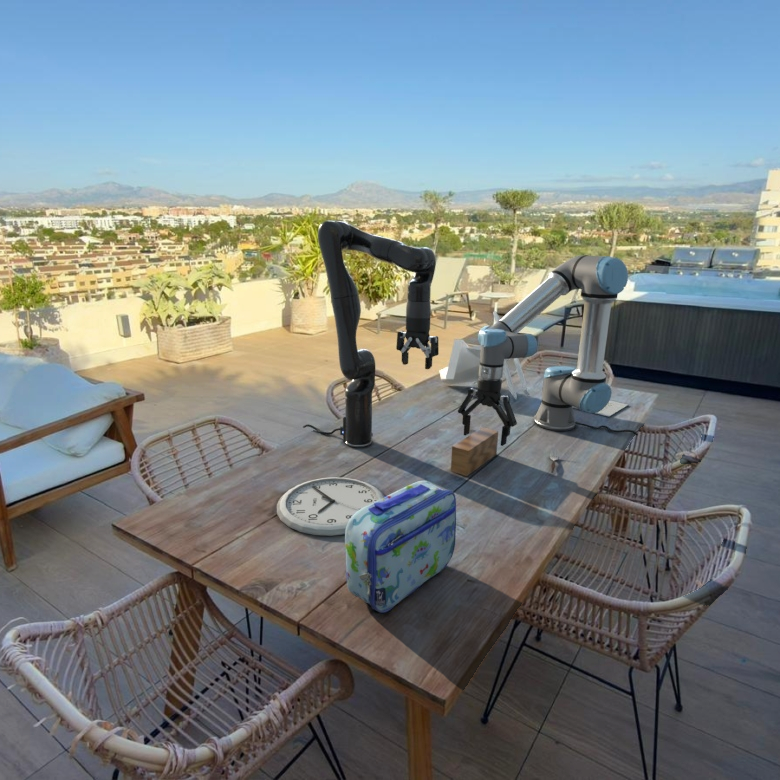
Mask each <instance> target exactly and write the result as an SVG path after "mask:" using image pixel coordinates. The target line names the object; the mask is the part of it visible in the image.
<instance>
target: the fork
mask: <svg viewBox="0 0 780 780" xmlns="http://www.w3.org/2000/svg"><path fill="white" fill-rule="evenodd" d="M559 454H560V449H556V451H555V452H553V451H551V452H550V456H549V457H550V460H552V462H551V466H550V468H551V469H550V470H551V474H553V473H554V469H555V467H556V463H555V461H558V460H559Z"/></svg>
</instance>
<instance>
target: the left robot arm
mask: <svg viewBox="0 0 780 780" xmlns="http://www.w3.org/2000/svg"><path fill="white" fill-rule="evenodd" d="M317 241H318V246H319V249H320V254H321V258H322V261H323V264H324V268H325V272H326V277H327V278H326V279H327V283H328V288H329V295H330V301H331V307H332V313H333V316H334V323H335V329H336V336H337V349H338V360H339V361H338V362H339V367H340V371H341V374H342V375H343V376H344V378H346V379H347V380H349V381H350V382H349V384H348V385H347V386H346V387H345V390H344V397H345V398H344V402H345V403H344V404H345V405H344V406H345V407H344V408H345V412H344V414H345V415H344V416H342V425H341V426H340V427H337V428H334V429H332V430H331V431H322V430H320V429H319V428H318V427H315V426H314V425H312V424H309V423H308V424H305V425H303V426H302V428H303V429H305V428H311V429H313V430H315V431H317V432H318V433H319V434H321V435H327V436H328V435H333V434H334V433H336V432H338V431H339V434H340V436H342V443H345V445H346V446H348V447H351V448H365V447H369V446H370V445H372V444H373V437H374V436H373V434H374V433H373V429H372V428H373V391H374V389H375V384H376V359H375V357H374V355H373V353H372V352H371V351H370V350H368V349H367V348H366V349H365V348H360V349H358V344H357V330H358V327H359V324H360V319H361V312H362V306H361V299H360V292H359V290H358V286H357V284H356V283H355V281H354V280H353V277H352V275H350V273H349V271H348V269H347V268H346V264H345V261H344V256H343V251H356V252H361V253H363V254H366V255H368V256H369V257H371V258H373V259H375V260H378V261H380V262H383V263H386V264H389V265H395V266H396V267H398V268H400V269H402V270H404V271H407V272H410V273H413V277H412V279H411V280H410V281H409V282H408V284H407V293H406V294H407V295H406V296H407V297H406V307H405V330H406V331H405V330H399V331H397V332H396V333H397V335H396V350H397V351H400V353H401V363H402V365H404V366H406V365H408V364H409V351H410V349H411V348H413V349H414V348H415V349H419V350H421V352H422V353H423V354H424V356H425V360H424V362H425V363H424V369H425V370H431V368H432V367H433V358H434V357H436V356H439V349H440V348H439V337H438V336H437V335H436V336H435V335H434V336H431V335H430V331H431V316H432V315H431V314H432V307H431V306H432V305H431V295H432V293H431V292H432V291H431V289H432V288H431V286H432V283H433V280H434V275H435V271H436V264H437V259H436V255H435V252H434V251H433V250H432V249H431V248H430V247H424V246H423V247H413V246H410V245H409V246H408V245H406V244H405V243H403V242H402V241H398V240H395V239H393V238H388V237H384V236H379V235H376V234H371V233H368V232H366V231H363V230H361V229H359V228H357V227H356V226H353V225H351V224H349V223H347V222H345V221H341V220H325V221H323V222H321V223H320V225H319V227H318V229H317ZM405 340H406V342H405Z"/></svg>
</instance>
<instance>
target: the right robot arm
mask: <svg viewBox="0 0 780 780" xmlns="http://www.w3.org/2000/svg"><path fill="white" fill-rule="evenodd" d="M628 280H629V272H628V268H627V265H626V264H625V263H624V261H623V260H622V259H620V258H618V257H612V256H608V255H605V256H604V255H588V254H580V255H576V256H574V257H572V258H570V259H567V260H566V261H564V262H563V263H561V264H559V265H558V266H557V267H555V268H554V269H553V270H551V272H549V273H548V275H547V277H546V280H544V281H542V283H541V284H540V285H538V287H536V288H535V289H534V290H533V291H532V292H530V293H529V294H528V295H527V296H526V297H525V298H523V299H522V300H521V301H520V302H519V303H517V305H515V306H514V307H513V308H512V309H511V310H509V311H508V312H507V313H506V314H504V316H503V317H502V318H500V320H499V321H498V322H497V323H496V322H495V324H493V325H485V326H483V327H481V329H480V330H479V331H478V334H477V340H478V343H479V345H481V352H480V365H479V376H480V377H479V378H478V382H477V389H476V388H475V387H471V388H469V389H468V391H467V395H466V396H465V398H464V400H463V401H462V403H461V405H460V406H459V408H458V409H457V413H458V414H461V416H462V425H463V436H466V437H467V435H469V434H470V430H471V420H472V419H471V418H472V416H471V414H470V413H471V412H473V411H474V410H475V409H476V408H477V407H478V406H479V405H480V404H481V405H482V406H486V407H489V408H491V407H492V408H493V410H494V411H495V413H496V414H497V416H498V417H499V419H500V421H501V422H502V424H503V426H502V427H501V435H500V437H501V438H500V446H501V447H504V446H505V445H507V442H508V441H507V440H508V436H510V435H511V429H512V428H513V427H515V426H516V425H518V422H517V419H516V416H515V412H514V410H513V408H512V403H511V396H510V395H502V394H501V393H502V392H501V391H502V383H503V380H502V378H503V375H504V374H503V373H504V370H503V365H504V359H511V358H518V359H526V358H529V357H533V356H534V355H535V354H536V353H537V350H538V341H537V339H536V337H535V336H534V335H533V334H530V333H521V334H520V333H519V332H521V331H522V330H523V329H524V328H525V327H527V325H529V324H530V323H531V322H532V321H533V320H534V319H535V318H537V317H538V316H539V315H540V314H542V313H543V312H544V311H545V310H546V309H547V308H549V307H550V306H551V305H552V304H553V303H554V302H556V300H558V299H559V298H560V297H561V296H567V295H568V294H569V293H570V292H572V291H575V290H581V291H580V297H581V299H582V300H583V301H584V306H583V314H582V321H581V329H580V330H581V331H580V337H579V348H578V356H577V363H576V367H574V366H566V365H565V366H564V365H559V366H558V365H557V366H550V367H547V368H546V369H545V370H544V375H543V381H542V392H541V402H540V405H539V407H538V410H537V411H536V413H535V415H534V424H535V425H536V426H537V427H539V428H542V429H544V430H549V431H556V432H567V431H572V430H574V429H575V428H576V425H577V426H578V425H579V426H581V427H586V428H588V429H592V430H600V429H602V428H604V429H607V430H608V432H611V433H615V434H621V433H631V434H634V436H639V433H637V432H636V431H635V430H633V429H619V430H615V429H612V428H610V427H609V426H608V425H599V426H593V425H590V424H586V423H582V422H578V421H576V418H575V417H576V416H575V413H574V409H576V408H578V409H577V410H580V411H581V412H586V413H589V414H596V413H597V412H599V411H601V410H602V409H603V408H604V407H605V406H606V405H607V404H608V402H609V400H610V401H611V398H612V388H611V386H610V385H609V384H608V383H606V382H607V374H606V373H605V372H604V369H603V368H604V361H605V354H606V346H607V339H608V333H609V332H608V331H609V324H610V318H611V311H612V310H611V309H612V304H613V303H614V302H615V301H616V300H618V295H619V294H620V293H622V292H623V291H624V290H625V287H626V286H627V284H628V282H629V281H628ZM511 360H512V359H511ZM474 396H476V397H477V399H476V400H475V401H474V402H473V403H472V404H471V405H470V406H469V404H470V402H471V401H472V399H473V398H474ZM500 401H501V402H500ZM502 405H503V406H502ZM468 406H469V407H468ZM467 407H468V408H467ZM574 407H575V408H574Z"/></svg>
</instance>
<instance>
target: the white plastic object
mask: <svg viewBox="0 0 780 780" xmlns="http://www.w3.org/2000/svg"><path fill="white" fill-rule="evenodd" d="M492 315H493V319H494V321H495V324H496V323H497V322H498V321H499V320H500V319H501V318H500V315H499V314H498V312H497V311H496V310H495V311H492ZM480 352H481V344H479V345H473V346H469V345H468V343H466V342H465V340H464V339H463V338H460V339H458V338H454V340H453V344H452V349H451V353H450V357H449V362H448V366H446V367H444V368H442V369H440V370H439V371H438V372H439V376H440V381H442V383H443V384H444V385H445V386H449V385H458V384H467V383H468V384H469V383H473V384H478V378H479V377H480V376H479V365H480ZM510 360H513V363H514V366H515V369H516V372H517V376H518V380H519V382H520V385H521V389H522V391H523V393H524V395H525V396H526V397H528V396H531V395H530V390H529V388H528V387H529V386H528V384H527V381H526V378H525V375H524V371H523V369H522V368H523V367H522V366H521V362H520V358H511V359H504V365H503V373H504V376H505V380H506V383H507V386H508V390H509V393H510V394H511V395H512V397H513V398H514V399H515V400H517V392H516V391H517V390H516V388H515V385H514V381H513V378H512V375H511V371H510V369H509V365H508V361H510Z"/></svg>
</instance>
